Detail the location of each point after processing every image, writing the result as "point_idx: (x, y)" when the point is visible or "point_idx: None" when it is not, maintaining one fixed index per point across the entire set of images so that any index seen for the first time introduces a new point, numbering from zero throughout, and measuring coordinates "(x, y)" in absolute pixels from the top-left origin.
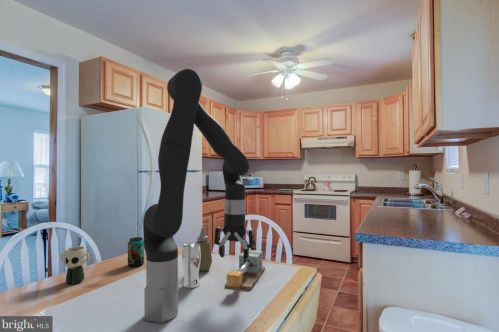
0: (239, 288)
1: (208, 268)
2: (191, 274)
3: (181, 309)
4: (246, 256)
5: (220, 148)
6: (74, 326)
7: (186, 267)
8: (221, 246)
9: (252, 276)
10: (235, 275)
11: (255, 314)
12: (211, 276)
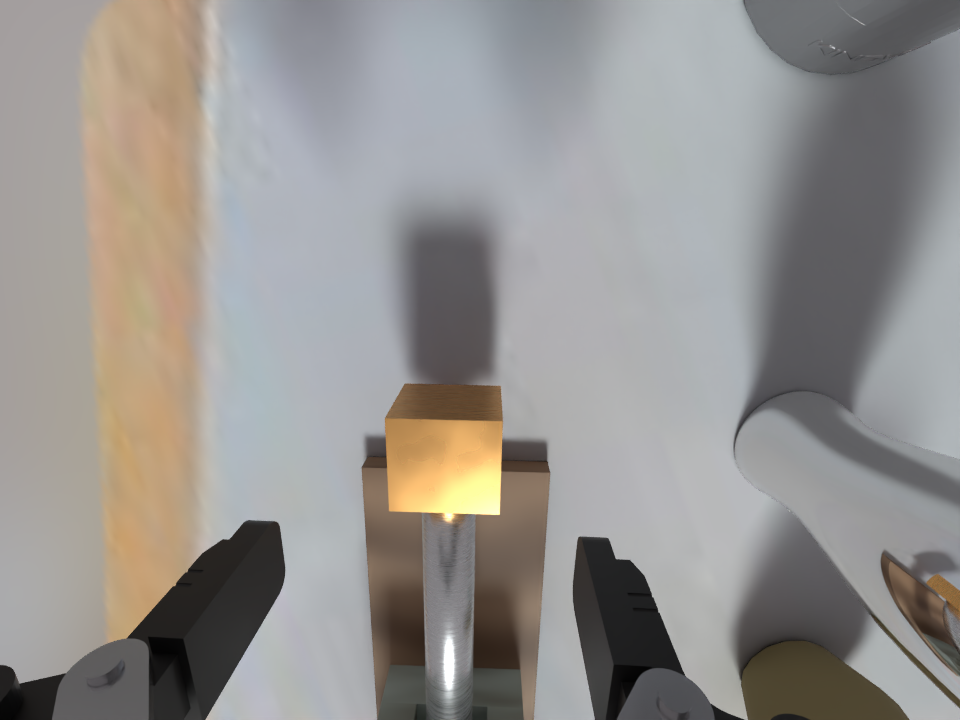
0: None
1: (749, 677)
2: (846, 443)
3: (736, 70)
4: (214, 559)
5: None
6: None
7: (955, 459)
8: (644, 690)
9: (407, 617)
10: (415, 418)
11: (222, 151)
12: (692, 590)
